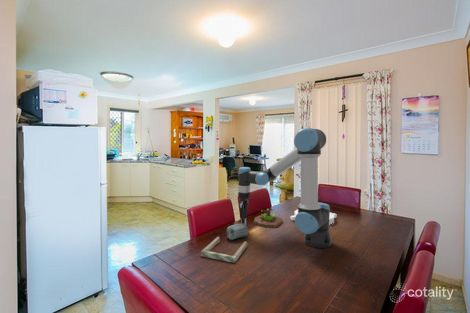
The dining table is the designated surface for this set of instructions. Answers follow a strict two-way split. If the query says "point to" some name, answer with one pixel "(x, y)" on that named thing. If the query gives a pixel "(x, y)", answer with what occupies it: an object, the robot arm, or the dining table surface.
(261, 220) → the plant
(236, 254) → the bay
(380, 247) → the dining table surface
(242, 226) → the streaked grey egg
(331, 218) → the ring with crossbar
